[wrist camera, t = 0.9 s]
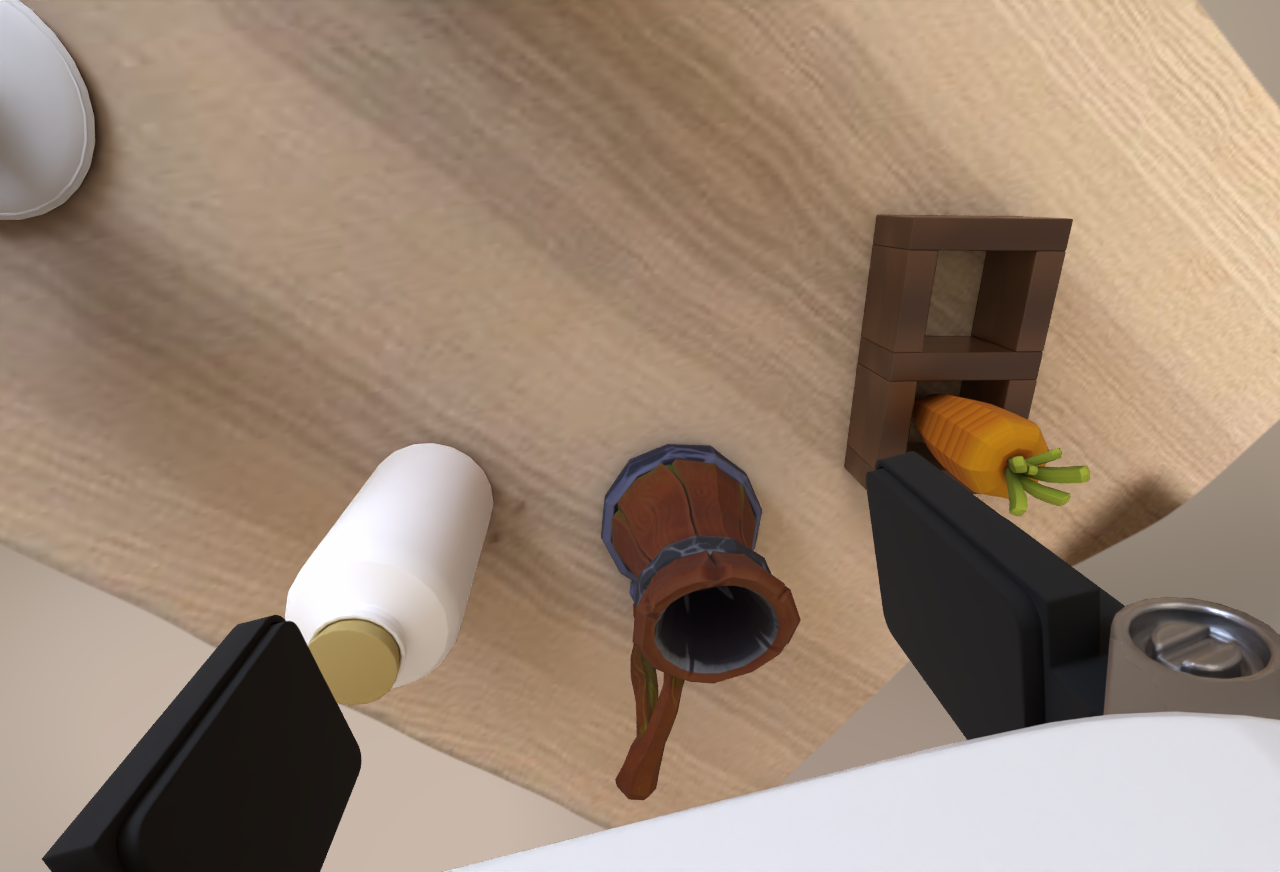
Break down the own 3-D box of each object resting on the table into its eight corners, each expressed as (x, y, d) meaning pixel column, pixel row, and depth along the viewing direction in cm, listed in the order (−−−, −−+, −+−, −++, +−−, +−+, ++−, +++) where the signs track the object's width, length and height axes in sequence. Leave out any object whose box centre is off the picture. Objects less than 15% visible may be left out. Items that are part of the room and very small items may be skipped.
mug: (685, 663, 53) (724, 834, 39) (548, 626, 50) (536, 793, 36) (781, 468, 47) (867, 583, 33) (633, 416, 45) (657, 517, 31)
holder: (876, 214, 42) (913, 217, 37) (1019, 216, 43) (1073, 218, 38) (843, 467, 48) (872, 497, 43) (970, 464, 49) (1011, 493, 44)
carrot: (884, 443, 47) (1013, 547, 33) (881, 377, 46) (1015, 458, 32) (951, 430, 47) (1107, 528, 33) (951, 364, 46) (1115, 438, 32)
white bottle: (497, 442, 45) (447, 591, 28) (493, 549, 48) (445, 744, 31) (370, 433, 44) (240, 582, 27) (374, 543, 47) (257, 740, 30)
